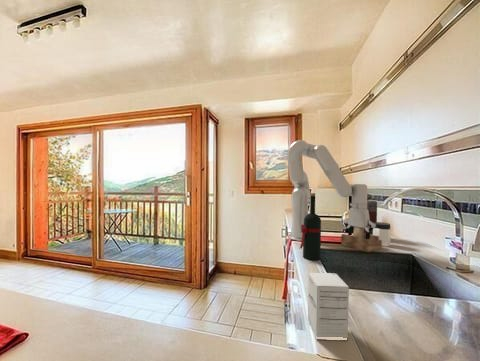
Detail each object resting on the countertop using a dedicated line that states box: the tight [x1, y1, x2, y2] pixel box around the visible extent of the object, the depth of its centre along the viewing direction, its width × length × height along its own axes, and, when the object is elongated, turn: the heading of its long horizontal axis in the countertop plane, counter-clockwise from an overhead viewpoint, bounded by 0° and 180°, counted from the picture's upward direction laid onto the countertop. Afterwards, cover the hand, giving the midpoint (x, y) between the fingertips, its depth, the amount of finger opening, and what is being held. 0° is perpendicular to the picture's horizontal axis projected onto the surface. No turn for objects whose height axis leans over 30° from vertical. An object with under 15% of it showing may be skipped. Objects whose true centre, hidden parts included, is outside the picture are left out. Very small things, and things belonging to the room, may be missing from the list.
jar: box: [373, 221, 392, 248], centre depth 131 cm, size 9×8×12 cm
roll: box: [353, 226, 364, 238], centre depth 128 cm, size 5×5×11 cm
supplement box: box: [307, 272, 350, 339], centre depth 55 cm, size 7×7×13 cm
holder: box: [340, 230, 383, 253], centre depth 127 cm, size 15×14×6 cm
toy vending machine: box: [364, 192, 378, 235], centre depth 148 cm, size 9×11×28 cm
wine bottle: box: [299, 192, 322, 262], centre depth 106 cm, size 8×10×30 cm
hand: (358, 237), depth 128 cm, fingers open, 9 cm apart
